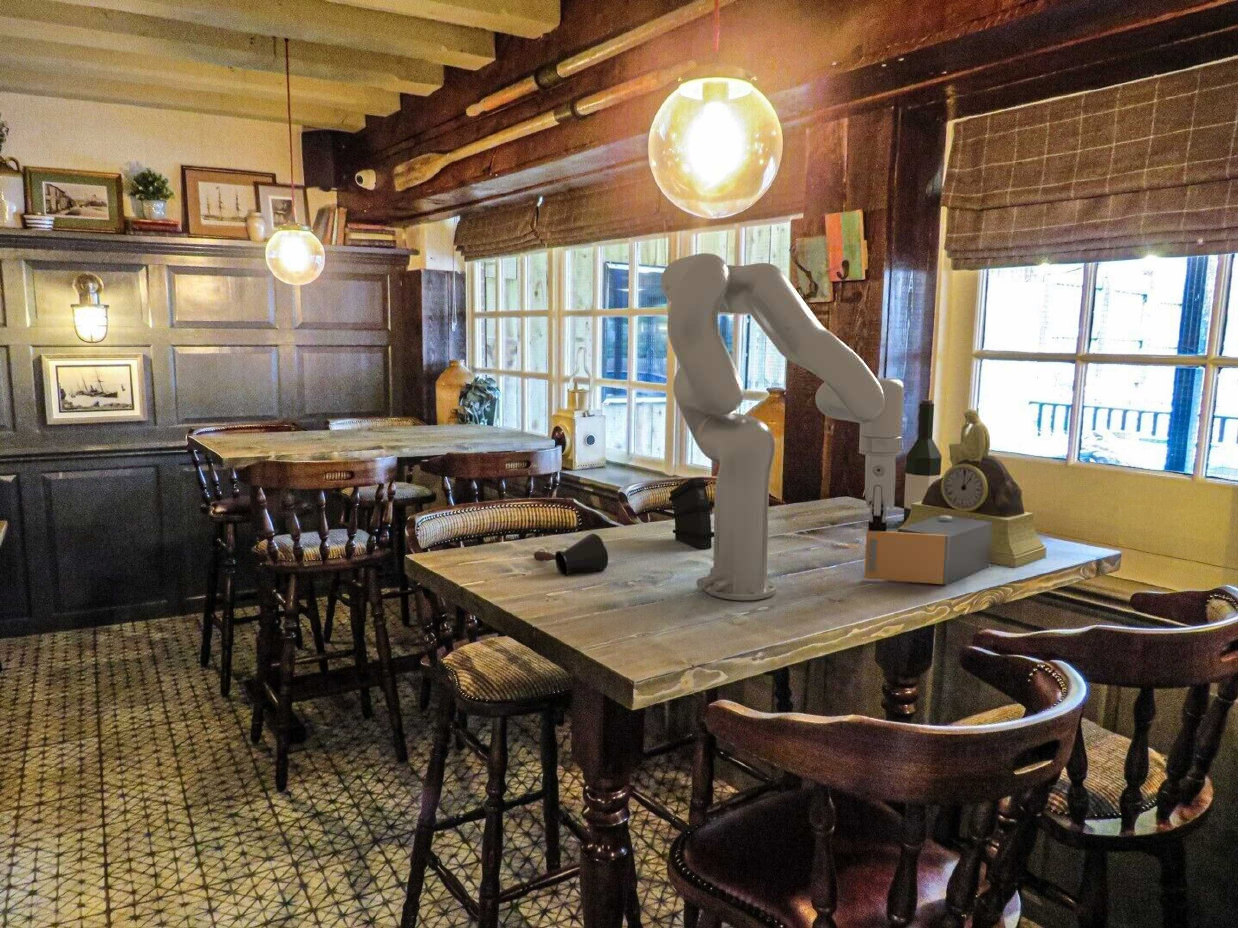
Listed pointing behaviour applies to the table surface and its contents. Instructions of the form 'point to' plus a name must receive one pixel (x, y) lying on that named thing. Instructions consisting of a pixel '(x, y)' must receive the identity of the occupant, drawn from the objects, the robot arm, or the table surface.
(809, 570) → the table surface
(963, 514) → the decorative clock
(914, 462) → the wine bottle
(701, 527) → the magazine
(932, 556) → the side door
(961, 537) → the grey box with knob
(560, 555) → the coffee pot
